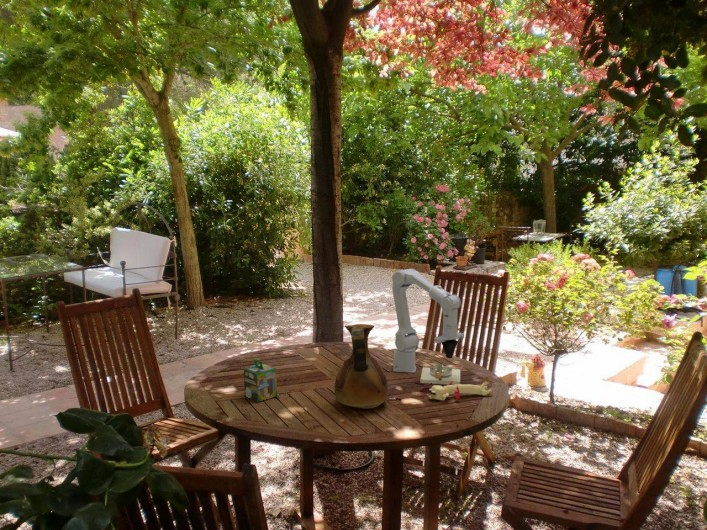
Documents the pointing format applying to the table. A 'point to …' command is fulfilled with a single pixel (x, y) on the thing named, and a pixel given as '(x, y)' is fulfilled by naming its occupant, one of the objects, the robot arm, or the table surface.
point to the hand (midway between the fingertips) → (449, 357)
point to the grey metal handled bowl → (440, 371)
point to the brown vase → (361, 373)
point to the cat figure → (459, 390)
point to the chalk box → (260, 381)
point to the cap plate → (429, 378)
